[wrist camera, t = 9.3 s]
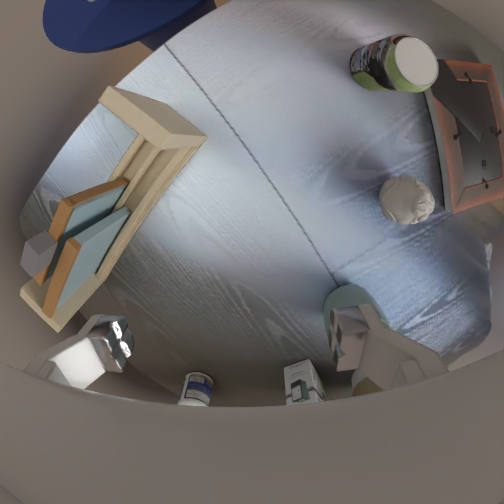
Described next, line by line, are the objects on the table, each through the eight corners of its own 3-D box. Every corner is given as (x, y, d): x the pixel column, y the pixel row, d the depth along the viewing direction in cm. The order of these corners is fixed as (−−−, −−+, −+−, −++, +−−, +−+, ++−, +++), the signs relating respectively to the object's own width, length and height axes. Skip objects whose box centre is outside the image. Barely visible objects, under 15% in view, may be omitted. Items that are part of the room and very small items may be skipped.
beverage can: (381, 49, 24) (429, 20, 13) (397, 100, 27) (453, 90, 16) (338, 51, 25) (375, 15, 14) (355, 104, 27) (402, 90, 16)
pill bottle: (200, 392, 47) (192, 432, 38) (179, 377, 45) (167, 418, 36) (219, 382, 45) (213, 425, 36) (198, 366, 44) (187, 410, 35)
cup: (311, 289, 37) (325, 335, 28) (362, 268, 36) (389, 308, 26) (326, 328, 40) (340, 375, 31) (372, 309, 38) (396, 352, 29)
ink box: (324, 384, 45) (334, 435, 34) (299, 392, 46) (305, 443, 35) (309, 357, 42) (319, 413, 31) (282, 367, 43) (286, 423, 32)
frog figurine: (410, 216, 33) (437, 233, 26) (366, 215, 33) (389, 233, 26) (414, 173, 30) (443, 182, 24) (369, 169, 30) (394, 177, 24)
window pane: (86, 236, 33) (14, 289, 19) (121, 174, 30) (36, 205, 16) (96, 244, 34) (26, 302, 19) (132, 184, 30) (50, 221, 16)
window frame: (75, 250, 36) (18, 296, 23) (166, 103, 28) (107, 84, 15) (106, 278, 38) (57, 334, 24) (208, 137, 30) (170, 133, 17)
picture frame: (412, 62, 24) (443, 209, 32) (421, 58, 22) (452, 214, 30) (482, 66, 22) (504, 190, 30) (492, 65, 19) (513, 193, 27)
